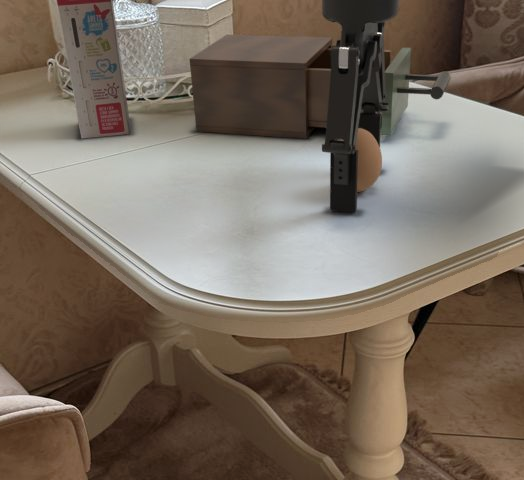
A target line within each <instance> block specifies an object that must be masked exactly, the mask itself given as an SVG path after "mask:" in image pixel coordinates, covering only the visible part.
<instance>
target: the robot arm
mask: <svg viewBox="0 0 524 480" xmlns="http://www.w3.org/2000/svg"><path fill="white" fill-rule="evenodd" d="M399 10H400V0H321V15H322V17H323V18H324V19H325V20H326V21H328V22H331V23H337V24H339V25H340V26H341V32H340V39H336V43H335V45H332V49H331V52H330V53H331V78H330V89H329V101H328V113H327V125H326V128H325V138H324V143H321V151H322V153H328V154H330V156H329V157H330V158H329V159H330V160H329V162H330V163H329V164H330V165H329V167H330V168H329V171H330V172H329V210H330V211H337V212H348V213H356V211H358V210H357V206H358V192H357V175H358V150H356V139H357V132H358V128H361V129H365V130H367V131H368V132H370V133H371V134H372V135H373V136H374V138H375V139H376V141H377V143H378V145H379V147H380V148H381V131H382V116H381V114H377V112H388V108H389V103H385V102H384V101H385V98H386V94H385V61H384V50H385V26H386V22H388V21H391V20H393V19H394V18H396V17H397V15H398V14H399ZM360 111H363V113H360ZM340 139H342V140H344V141H339V140H340Z"/></svg>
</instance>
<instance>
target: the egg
mask: <svg viewBox="0 0 524 480" xmlns="http://www.w3.org/2000/svg"><path fill="white" fill-rule="evenodd" d="M338 141H344V140H342V139H338ZM356 150H358V175H357V193H360V192H363V191H367V190H368V189H370V188H371V187H372V186H373V185H374V184H375V183H376V182H377V180H378V178H379V177H380V174H381V172H382V168H383V156H382V150H381V146H380V147H379V145H378V143H377V141H376V139H375V138H374V136H373V135H372V134H371V133H370V132H368V131H367V130H365V129H361V128H358V132H357V139H356Z"/></svg>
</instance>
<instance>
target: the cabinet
mask: <svg viewBox="0 0 524 480" xmlns="http://www.w3.org/2000/svg"><path fill="white" fill-rule="evenodd" d="M332 46H333V37H329V36H327V37H326V36H325V37H324V36H297V35H295V36H294V35H292V36H291V35H262V34H261V35H259V34H258V35H257V34H256V35H255V34H224V35H223V36H222V37H221V38H218V39H217V40H216V41H214V42H213V43H211V44H210V45H208V46H207V47H205V48H204V49H202V50H201V51H199V52H198V53H196V54H195V55H193V56H192V57H190V58H189V67H190V68H189V69H190V80H191V91H192V100H193V110H194V118H195V119H194V122H195V131H196V132H197V133H214V134H229V135H246V136H259V137H275V138H290V139H301V140H302V139H303V140H306V139H308V138H309V136H310V135H311V133H312V132H313V131H314V130H315V129H316V127H308V115H307V67H308V66H309V65H311V64H312V63H313V62H314V61H315V60H316V59H317V58H318V57H319V56H320V55H321V54H322V53H323V52H324V51H325V50H326V49H327V48H332Z"/></svg>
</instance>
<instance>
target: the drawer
mask: <svg viewBox="0 0 524 480" xmlns="http://www.w3.org/2000/svg"><path fill="white" fill-rule="evenodd" d="M331 49H332V48H327V49H326V50H325V51H324V52H323V53H322V54H321V55H320V56H319V57H318V58H317V59H316V60H315V61H314V62H313V63H312V64H311V65H309V66H308V67H307V115H308V127H315V128H323V129H326V125H327V113H328V101H329V89H330V78H331V53H330V52H331ZM411 54H412V48H411V47H401V49H399V51H398V53H397V54H396V55H395V57H394V58H393V60H392V50H391V49H384V61H385V94H386V98H385V101H384V102H385V103H389V108H388V112H377V114H381V133H380V136H387V137H390V136H392V134H393V133H394V131H395V129H396V127H397V125H398V124H399V122H400V121H401V119H402V117H403V115H404V113H405V111H406V110H407V108H408V107H409V94H413V95H430V97H431V98H432V99H433V100H439V99H440V100H441V98H442V97H443V96H444V93H445V91H446V89H447V88H448V85H449V83H450V81H451V79H452V77H451V74H450V72H448V71H445V70H444V71H441V72H440V73H439V74H437V75H435V74H414V73H413V74H412V73H410V71H411V58H412V57H411V56H412V55H411ZM410 81H423V82H425V81H427V82H434V83H433V85H432V87H431V88H427V87H410ZM360 113H363V111H360Z"/></svg>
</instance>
